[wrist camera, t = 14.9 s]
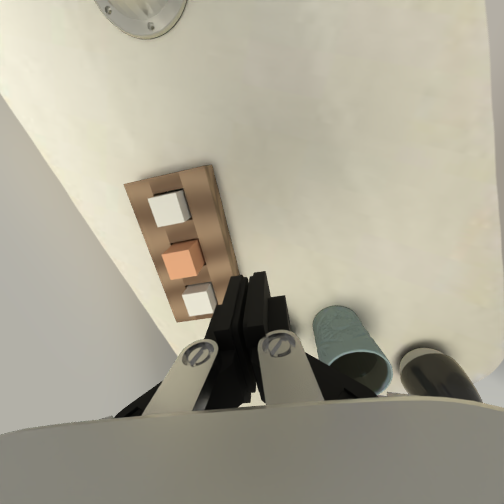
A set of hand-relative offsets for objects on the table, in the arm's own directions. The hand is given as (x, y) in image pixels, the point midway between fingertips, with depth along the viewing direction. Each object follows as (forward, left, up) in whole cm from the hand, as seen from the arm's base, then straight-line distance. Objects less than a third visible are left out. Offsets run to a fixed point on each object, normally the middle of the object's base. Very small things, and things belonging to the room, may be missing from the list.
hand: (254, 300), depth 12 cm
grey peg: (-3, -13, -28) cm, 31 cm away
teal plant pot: (+26, +9, -29) cm, 40 cm away
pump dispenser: (+37, +24, -29) cm, 53 cm away
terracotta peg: (+5, -13, -26) cm, 30 cm away
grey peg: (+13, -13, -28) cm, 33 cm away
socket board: (+5, -13, -29) cm, 32 cm away
